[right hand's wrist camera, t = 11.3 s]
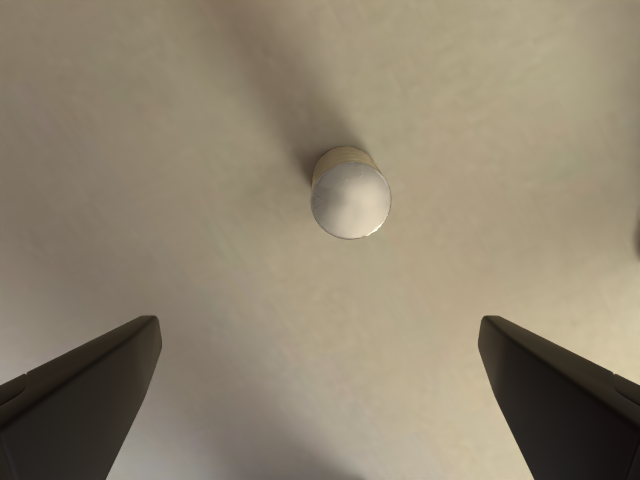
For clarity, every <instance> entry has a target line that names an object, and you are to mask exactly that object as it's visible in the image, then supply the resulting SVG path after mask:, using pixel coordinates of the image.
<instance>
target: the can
mask: <svg viewBox="0 0 640 480" xmlns="http://www.w3.org/2000/svg"><path fill="white" fill-rule="evenodd" d="M390 207H391V192H390V188H389V185H388V183H387V181H386V179H385V178H384V176H383V175H382V173H381V172H380V170H379V169H378V167H377V166H376V164H375V163H374V161H373V160H372V159H371V157H370V156H369V155H368V154H367V153H365V152H364V151H362V150H360V149H358V148H355V147H350V146H342V147H337V148H334V149H332V150H330V151H328V152H326V153H325V154H324V155H323V156H322V157H321V158H320V159H319V161H318V162H317V164H316V166H315V168H314V171H313V178H312V191H311V208H312V212H313V215H314V218H315V220H316V221H317V223H318V224H319V225H320V226H321V228H322V229H324V230H325V231H326V232H327V233H329V234H331V235H333V236H335V237H338V238H342V239H358V238H362V237H365V236H367V235H369V234H371V233H373V232H374V231H376V230H377V229H378V228H379V227H380V226H381V225H382V224H383V223H384V221H385V220H386V218H387V216H388V214H389V211H390Z"/></svg>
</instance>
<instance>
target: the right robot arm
mask: <svg viewBox="0 0 640 480" xmlns="http://www.w3.org/2000/svg"><path fill="white" fill-rule="evenodd" d="M161 348H162V338H161V332H160V326H159V320H158V318H157V317H156V316H140V317H138V318H136V319H134V320H132V321H130V322H128V323H126V324H124V325H122V326H120V327H118V328H116V329H114V330H112V331H110V332H108V333H106V334H104V335H102V336H100V337H98V338H95V339H93V340H91V341H89V342H87V343H85V344H83V345H81V346H79V347H77V348H75V349H73V350H71V351H69V352H67V353H65V354H63V355H61V356H59V357H57V358H55V359H53V360H51V361H49V362H47V363H45V364H43V365H41V366H39V367H37V368H35V369H33V370H31V371H29V372H27V374H23V375H21V376H19V377H17V378H15V379H13V380H11V381H8V382H6V383H4V384H2V385H0V480H106V478H107V476H108V474H109V471H110V469H111V467H112V465H113V463H114V461H115V459H116V457H117V455H118V453H119V451H120V448H121V446H122V444H123V442H124V440H125V438H126V436H127V434H128V432H129V430H130V428H131V425H132V423H133V421H134V419H135V417H136V415H137V413H138V411H139V409H140V407H141V405H142V402H143V400H144V398H145V395H146V393H147V390H148V387H149V384H150V381H151V378H152V375H153V373H154V370H155V367H156V364H157V361H158V358H159V355H160V352H161ZM478 348H479V352H480V355H481V358H482V361H483V364H484V367H485V370H486V373H487V375H488V378H489V381H490V384H491V387H492V390H493V393H494V395H495V398H496V400H497V402H498V405H499V407H500V409H501V411H502V413H503V415H504V417H505V419H506V421H507V423H508V425H509V428H510V430H511V432H512V434H513V436H514V438H515V440H516V442H517V444H518V446H519V448H520V451H521V453H522V455H523V457H524V459H525V461H526V463H527V465H528V467H529V469H530V471H531V474H532V476H533V478H534V480H640V385H638V384H636V383H634V382H632V381H629V380H627V379H625V378H623V377H621V376H619V375H617V374H613V372H611V371H609V370H607V369H605V368H603V367H601V366H599V365H597V364H595V363H593V362H591V361H589V360H587V359H585V358H583V357H581V356H579V355H577V354H575V353H573V352H571V351H569V350H567V349H565V348H563V347H561V346H559V345H557V344H555V343H553V342H551V341H549V340H547V339H545V338H542V337H540V336H538V335H536V334H534V333H532V332H530V331H528V330H526V329H524V328H522V327H520V326H518V325H516V324H514V323H512V322H510V321H508V320H506V319H504V318H502V317H500V316H484V317H483V318H482V320H481V325H480V332H479V338H478Z"/></svg>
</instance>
